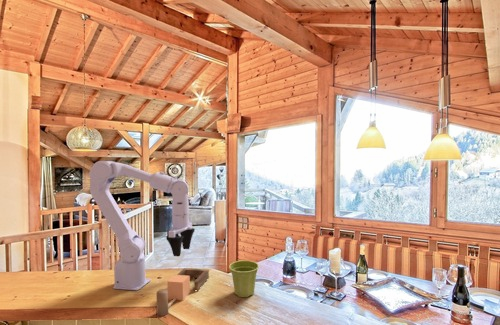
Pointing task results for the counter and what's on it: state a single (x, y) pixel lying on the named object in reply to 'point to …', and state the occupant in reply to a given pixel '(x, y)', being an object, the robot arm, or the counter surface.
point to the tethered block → (172, 293)
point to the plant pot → (244, 277)
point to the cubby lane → (196, 276)
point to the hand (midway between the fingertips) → (181, 252)
